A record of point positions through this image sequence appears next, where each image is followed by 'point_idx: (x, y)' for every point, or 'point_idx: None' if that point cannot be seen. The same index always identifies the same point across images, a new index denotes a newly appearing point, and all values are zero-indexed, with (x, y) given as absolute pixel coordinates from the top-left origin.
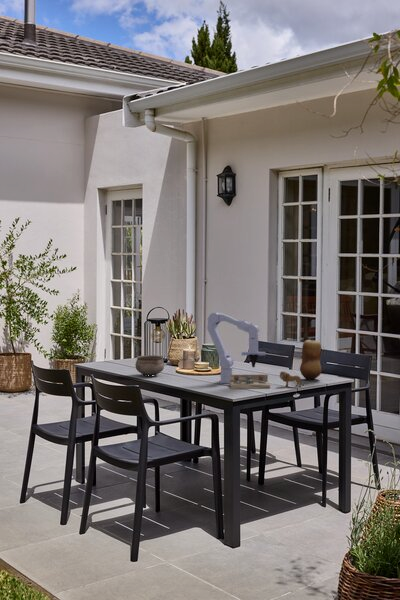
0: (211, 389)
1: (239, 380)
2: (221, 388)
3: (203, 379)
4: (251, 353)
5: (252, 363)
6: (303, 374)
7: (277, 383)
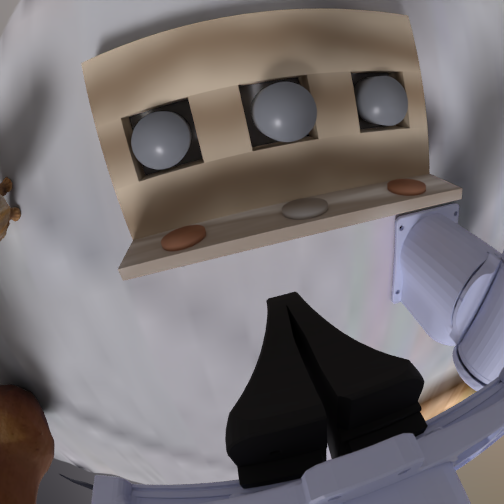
0: (473, 9)
1: (373, 186)
2: (443, 26)
3: None
4: (424, 446)
5: (313, 317)
6: (21, 399)
7: (91, 290)
